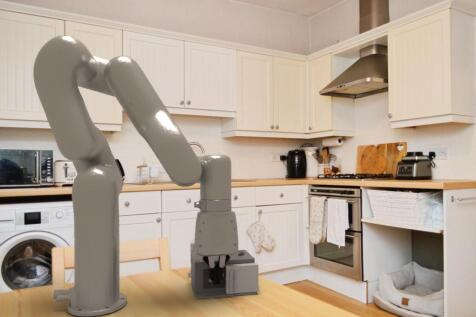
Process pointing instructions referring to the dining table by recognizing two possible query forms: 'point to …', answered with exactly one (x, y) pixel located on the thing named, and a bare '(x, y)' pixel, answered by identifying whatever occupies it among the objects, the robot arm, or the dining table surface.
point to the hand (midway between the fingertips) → (216, 282)
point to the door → (241, 278)
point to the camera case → (205, 286)
